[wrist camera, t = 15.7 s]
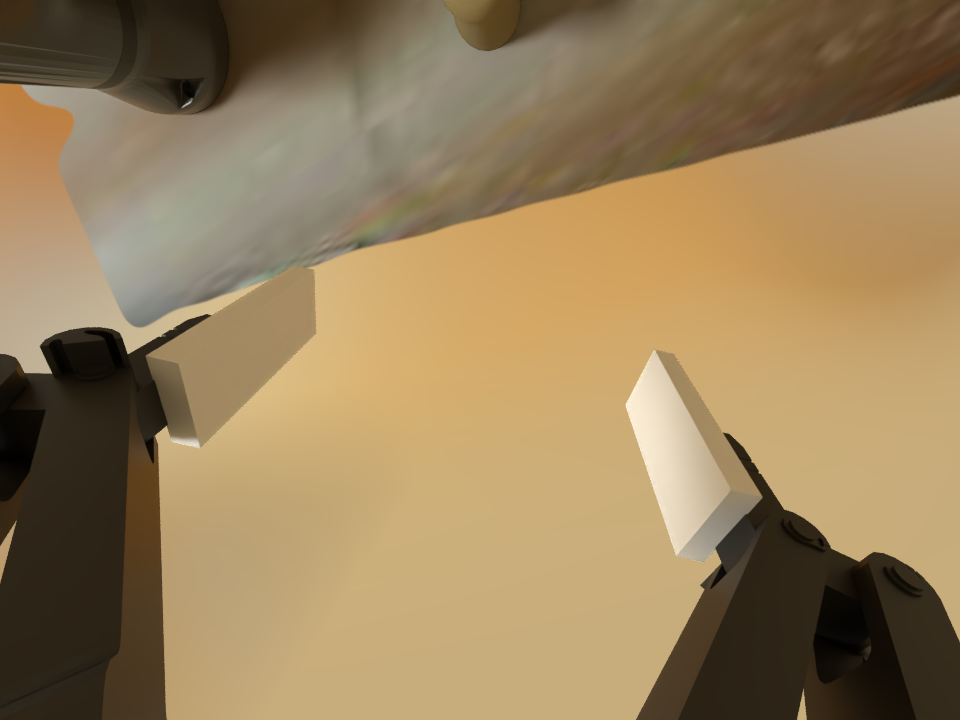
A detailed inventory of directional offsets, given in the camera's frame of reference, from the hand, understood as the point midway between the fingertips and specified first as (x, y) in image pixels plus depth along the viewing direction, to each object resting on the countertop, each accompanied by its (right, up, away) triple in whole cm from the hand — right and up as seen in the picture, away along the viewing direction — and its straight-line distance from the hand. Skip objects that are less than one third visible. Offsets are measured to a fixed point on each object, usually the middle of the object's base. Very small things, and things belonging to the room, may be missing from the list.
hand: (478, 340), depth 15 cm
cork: (+1, +31, +20) cm, 37 cm away
